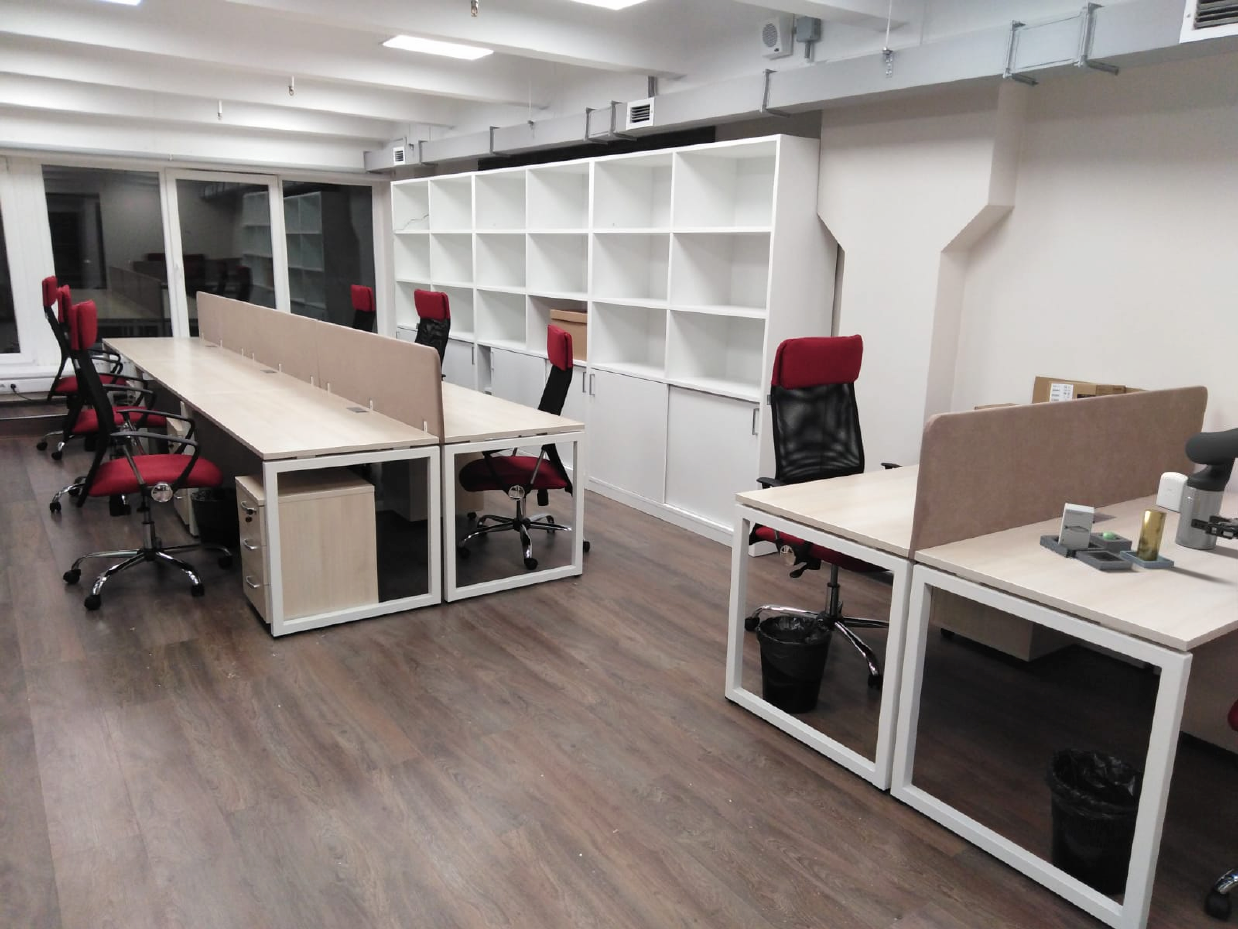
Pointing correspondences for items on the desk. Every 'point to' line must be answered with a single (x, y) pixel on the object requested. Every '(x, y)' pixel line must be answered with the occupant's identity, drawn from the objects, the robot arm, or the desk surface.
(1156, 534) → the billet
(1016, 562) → the desk surface
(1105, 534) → the button
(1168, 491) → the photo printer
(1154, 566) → the tote tray
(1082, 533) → the supplement box
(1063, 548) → the gray compartment tray
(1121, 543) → the grey square socket block
